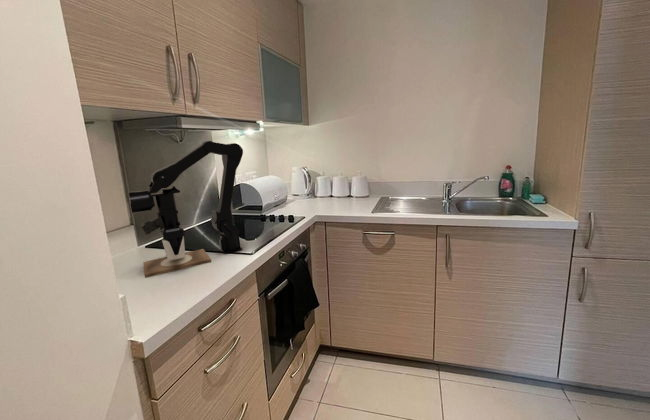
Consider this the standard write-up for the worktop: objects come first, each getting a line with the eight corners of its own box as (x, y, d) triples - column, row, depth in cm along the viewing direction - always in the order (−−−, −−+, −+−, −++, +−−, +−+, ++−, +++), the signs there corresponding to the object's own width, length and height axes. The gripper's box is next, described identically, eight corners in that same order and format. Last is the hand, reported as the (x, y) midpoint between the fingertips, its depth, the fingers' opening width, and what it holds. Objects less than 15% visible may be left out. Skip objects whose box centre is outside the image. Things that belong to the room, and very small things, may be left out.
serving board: (203, 251, 123) (203, 248, 122) (211, 261, 111) (210, 258, 110) (143, 264, 113) (143, 261, 113) (145, 277, 101) (144, 274, 101)
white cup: (161, 258, 111) (157, 238, 109) (179, 252, 116) (176, 233, 115) (172, 261, 107) (169, 241, 105) (191, 254, 112) (187, 235, 111)
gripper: (139, 208, 112) (147, 250, 115) (140, 217, 96) (150, 266, 99) (174, 202, 117) (181, 243, 121) (180, 210, 101) (189, 257, 105)
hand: (175, 252), depth 111 cm, fingers closed on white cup, 6 cm apart
